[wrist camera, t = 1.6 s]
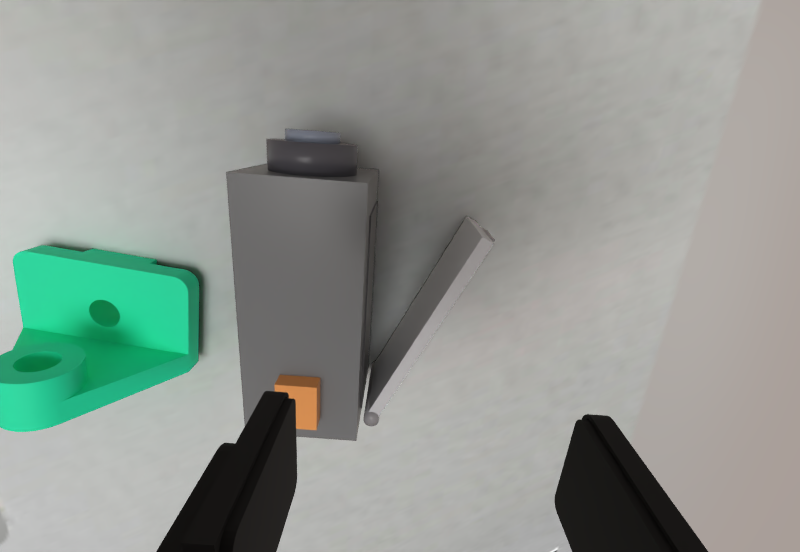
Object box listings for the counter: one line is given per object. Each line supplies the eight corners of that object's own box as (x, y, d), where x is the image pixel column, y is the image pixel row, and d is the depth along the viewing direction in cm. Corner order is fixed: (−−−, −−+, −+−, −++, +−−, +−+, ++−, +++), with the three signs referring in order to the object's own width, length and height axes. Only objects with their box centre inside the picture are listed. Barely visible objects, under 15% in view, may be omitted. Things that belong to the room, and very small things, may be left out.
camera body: (275, 127, 26) (212, 123, 18) (382, 135, 26) (370, 136, 18) (282, 363, 32) (239, 444, 24) (369, 369, 32) (355, 452, 24)
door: (465, 214, 28) (481, 237, 22) (481, 224, 28) (502, 249, 22) (369, 368, 32) (360, 422, 26) (384, 375, 32) (379, 430, 26)
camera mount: (206, 267, 30) (110, 331, 20) (205, 353, 32) (119, 447, 23) (44, 239, 29) (-136, 290, 20) (55, 329, 32) (-98, 414, 22)
